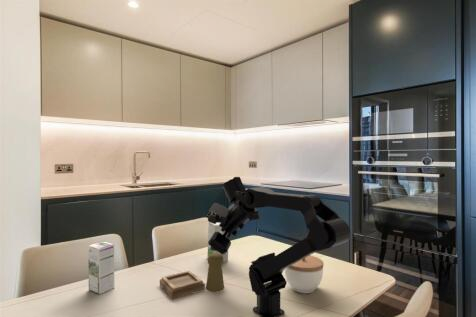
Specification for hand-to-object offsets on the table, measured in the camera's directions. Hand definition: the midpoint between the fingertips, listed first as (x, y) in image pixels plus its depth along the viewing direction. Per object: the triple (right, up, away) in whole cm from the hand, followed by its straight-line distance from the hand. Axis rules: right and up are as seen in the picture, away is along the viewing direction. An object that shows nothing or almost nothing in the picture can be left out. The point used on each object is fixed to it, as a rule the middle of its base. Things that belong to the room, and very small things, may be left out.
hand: (216, 239), depth 100 cm
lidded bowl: (+29, -15, -4) cm, 32 cm away
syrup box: (-37, -15, -6) cm, 40 cm away
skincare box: (-1, -15, +22) cm, 27 cm away
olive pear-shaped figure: (0, -15, -4) cm, 15 cm away
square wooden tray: (-11, -15, -4) cm, 19 cm away
